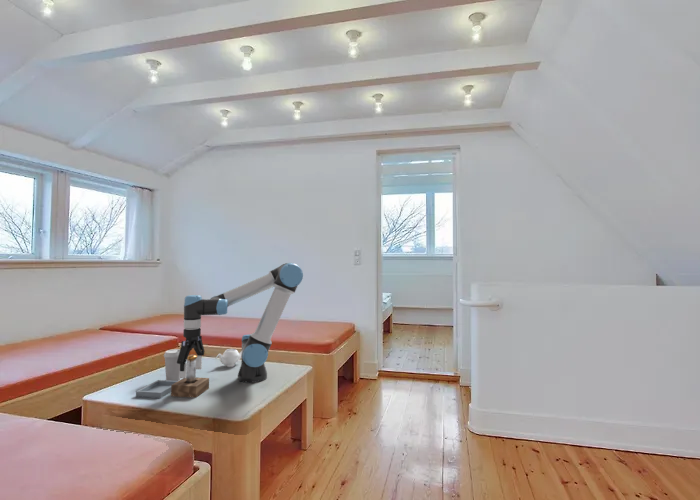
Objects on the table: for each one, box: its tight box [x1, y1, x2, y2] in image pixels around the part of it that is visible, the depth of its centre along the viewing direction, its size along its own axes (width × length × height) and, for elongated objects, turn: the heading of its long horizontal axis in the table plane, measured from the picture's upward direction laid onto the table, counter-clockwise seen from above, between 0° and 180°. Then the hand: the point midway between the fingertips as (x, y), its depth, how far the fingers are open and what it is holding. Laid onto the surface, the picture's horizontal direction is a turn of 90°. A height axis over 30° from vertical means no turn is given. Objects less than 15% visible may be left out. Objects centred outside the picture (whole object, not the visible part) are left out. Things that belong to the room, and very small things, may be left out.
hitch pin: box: [186, 354, 198, 384], centre depth 172 cm, size 5×5×17 cm
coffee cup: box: [163, 348, 181, 381], centre depth 188 cm, size 10×10×15 cm
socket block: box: [170, 377, 210, 399], centre depth 171 cm, size 12×12×5 cm
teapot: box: [215, 348, 242, 368], centre depth 215 cm, size 10×20×9 cm, turn 140°
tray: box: [135, 379, 178, 399], centre depth 172 cm, size 12×16×2 cm
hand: (191, 373), depth 172 cm, fingers open, 13 cm apart
